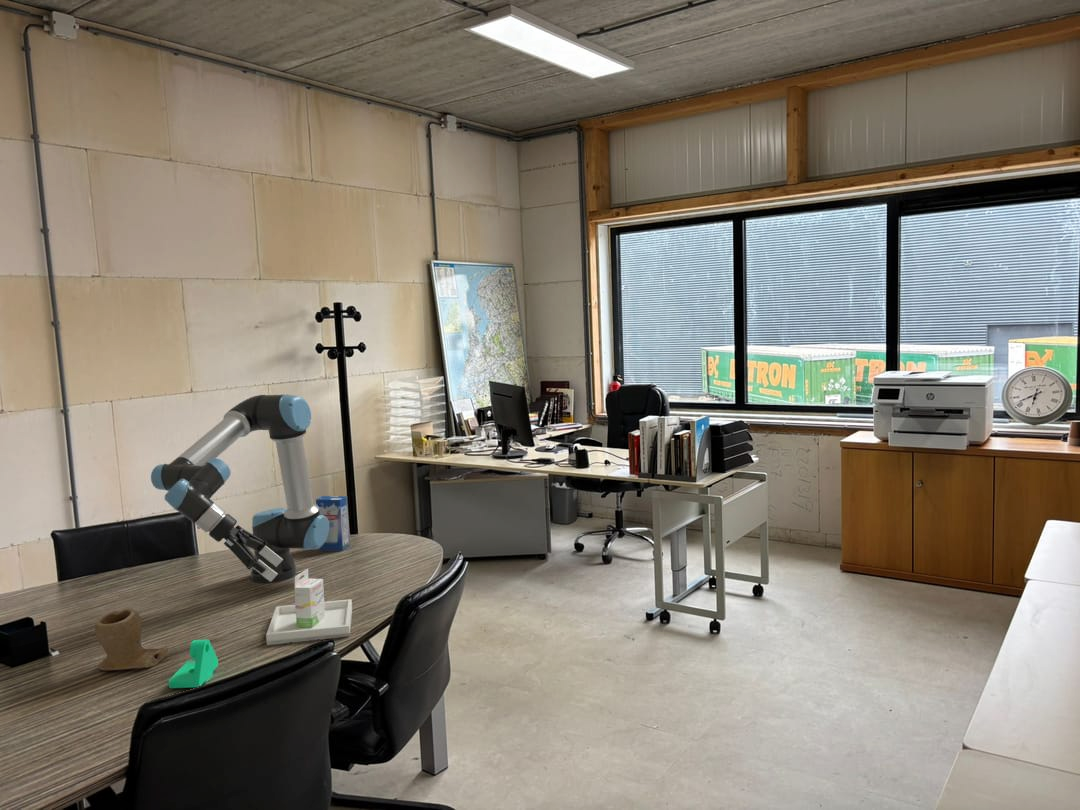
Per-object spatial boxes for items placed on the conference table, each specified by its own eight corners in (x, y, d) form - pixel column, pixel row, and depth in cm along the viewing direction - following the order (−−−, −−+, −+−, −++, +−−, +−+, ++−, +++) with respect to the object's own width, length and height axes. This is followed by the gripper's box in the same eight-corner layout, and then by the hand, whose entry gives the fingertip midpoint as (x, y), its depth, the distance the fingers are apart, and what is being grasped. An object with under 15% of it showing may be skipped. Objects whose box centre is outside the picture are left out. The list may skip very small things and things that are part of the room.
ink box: (312, 628, 224) (309, 577, 222) (296, 627, 225) (292, 577, 223) (326, 617, 232) (323, 568, 231) (310, 616, 233) (307, 567, 232)
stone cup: (88, 678, 198) (82, 620, 197) (113, 658, 210) (108, 603, 209) (148, 676, 198) (143, 618, 197) (170, 656, 210) (166, 602, 208)
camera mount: (188, 670, 201) (185, 631, 200) (218, 669, 202) (215, 630, 200) (167, 692, 189) (164, 651, 188) (199, 691, 190) (196, 650, 189)
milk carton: (349, 546, 310) (346, 496, 308) (342, 550, 304) (339, 499, 302) (326, 545, 312) (323, 495, 310) (318, 550, 306) (315, 499, 304)
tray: (277, 616, 237) (276, 606, 237) (352, 608, 241) (351, 599, 241) (266, 645, 215) (266, 634, 215) (349, 636, 220) (349, 625, 219)
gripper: (216, 522, 232) (273, 566, 237) (198, 545, 208) (261, 595, 212) (234, 503, 232) (290, 548, 237) (218, 524, 208) (281, 574, 213)
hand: (277, 570), depth 225 cm, fingers open, 13 cm apart
